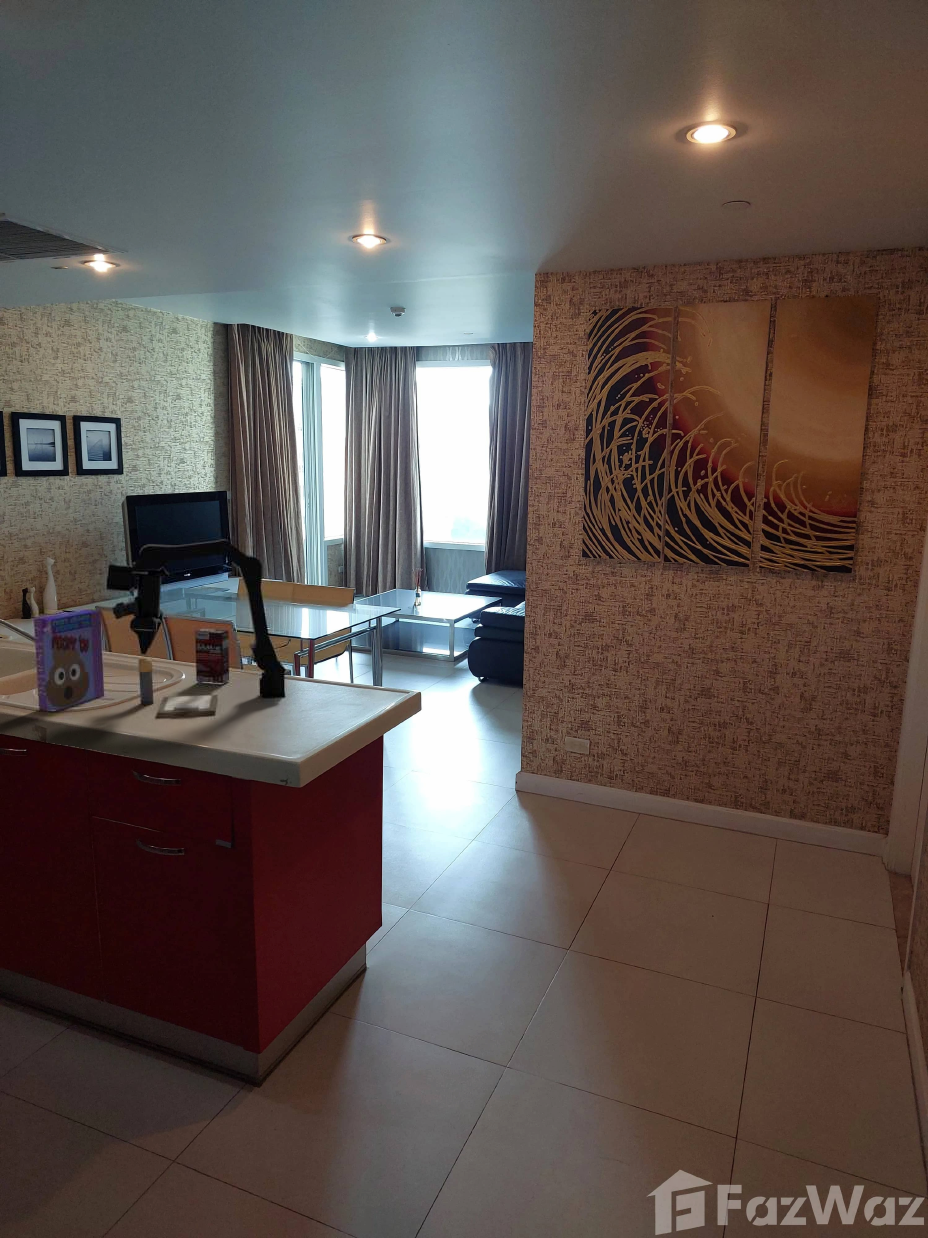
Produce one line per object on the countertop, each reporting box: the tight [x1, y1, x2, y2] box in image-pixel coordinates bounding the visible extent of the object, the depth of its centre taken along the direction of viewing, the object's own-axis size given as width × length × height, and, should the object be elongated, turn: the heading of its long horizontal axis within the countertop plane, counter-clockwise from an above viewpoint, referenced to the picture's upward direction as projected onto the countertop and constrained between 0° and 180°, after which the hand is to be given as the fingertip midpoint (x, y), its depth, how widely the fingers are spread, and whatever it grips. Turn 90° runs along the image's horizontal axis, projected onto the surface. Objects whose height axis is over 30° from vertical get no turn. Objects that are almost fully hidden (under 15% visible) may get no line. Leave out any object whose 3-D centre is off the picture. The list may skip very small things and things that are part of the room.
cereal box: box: [33, 608, 105, 711], centre depth 212 cm, size 17×5×24 cm, turn 162°
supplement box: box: [194, 628, 230, 684], centre depth 238 cm, size 9×5×16 cm, turn 80°
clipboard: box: [156, 694, 218, 718], centre depth 212 cm, size 14×16×2 cm
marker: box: [137, 657, 154, 706], centre depth 214 cm, size 3×3×12 cm
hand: (145, 650), depth 213 cm, fingers open, 9 cm apart
